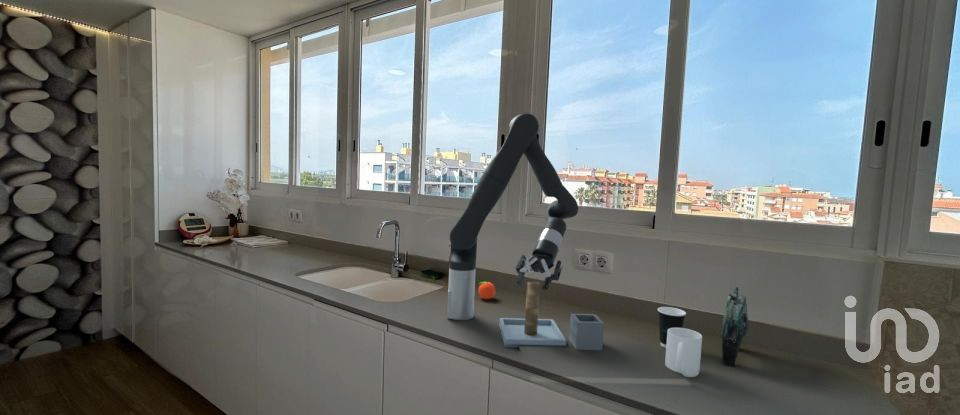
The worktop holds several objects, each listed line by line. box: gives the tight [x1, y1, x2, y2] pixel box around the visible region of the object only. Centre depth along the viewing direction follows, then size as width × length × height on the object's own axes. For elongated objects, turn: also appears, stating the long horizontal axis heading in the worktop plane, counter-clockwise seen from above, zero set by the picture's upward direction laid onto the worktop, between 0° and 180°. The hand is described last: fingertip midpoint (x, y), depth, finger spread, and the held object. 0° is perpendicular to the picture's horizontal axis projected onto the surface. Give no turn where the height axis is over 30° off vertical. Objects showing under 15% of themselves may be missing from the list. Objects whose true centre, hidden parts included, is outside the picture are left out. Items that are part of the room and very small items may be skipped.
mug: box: [664, 327, 703, 378], centre depth 109 cm, size 12×8×10 cm
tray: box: [498, 317, 567, 349], centre depth 131 cm, size 18×18×2 cm
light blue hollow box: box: [568, 313, 605, 351], centre depth 123 cm, size 8×8×9 cm
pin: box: [524, 280, 541, 335], centre depth 131 cm, size 4×4×16 cm
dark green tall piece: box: [721, 286, 749, 368], centre depth 122 cm, size 20×6×20 cm, turn 144°
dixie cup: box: [657, 306, 687, 349], centre depth 128 cm, size 8×8×11 cm
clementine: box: [475, 281, 496, 300], centre depth 169 cm, size 8×7×7 cm
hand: (531, 286), depth 129 cm, fingers open, 8 cm apart
